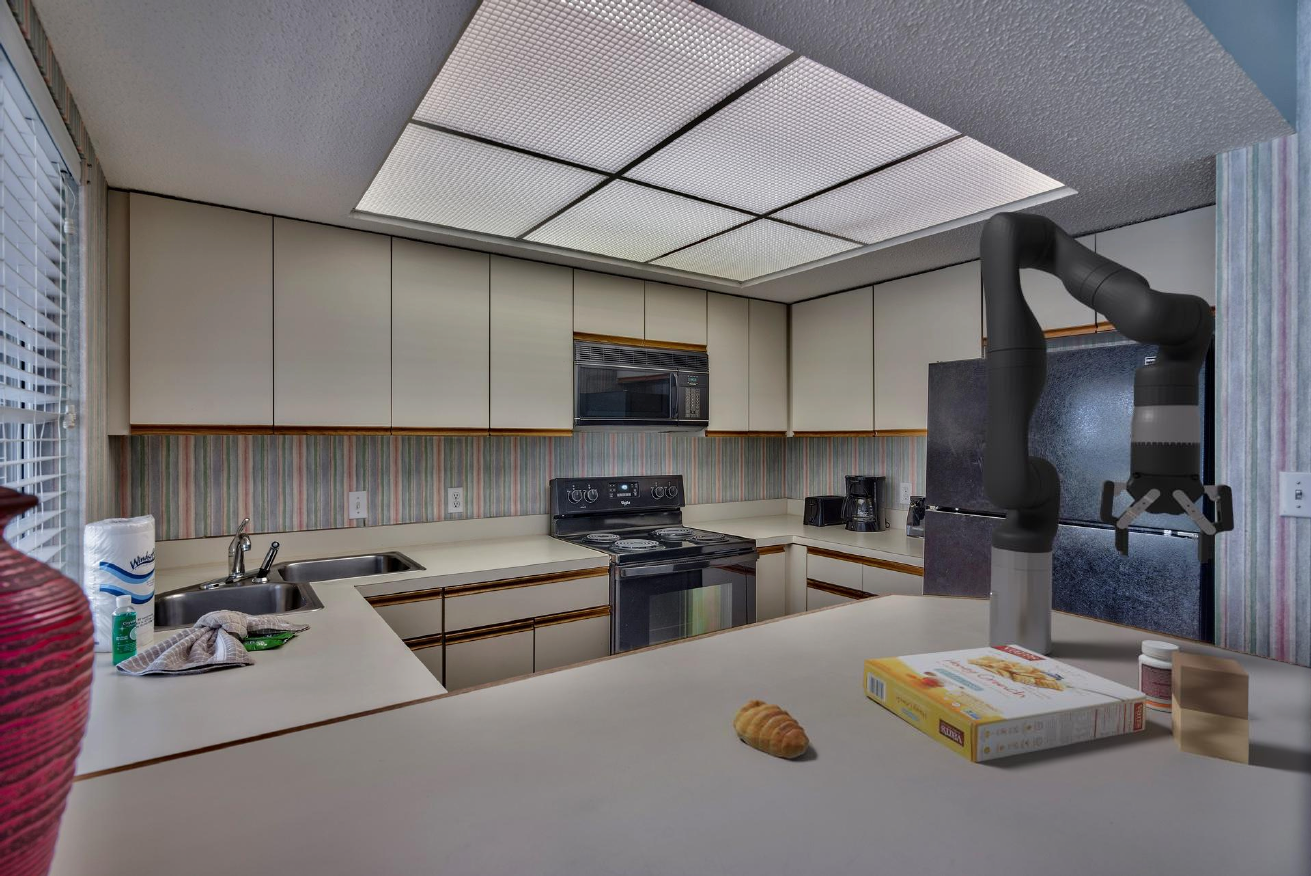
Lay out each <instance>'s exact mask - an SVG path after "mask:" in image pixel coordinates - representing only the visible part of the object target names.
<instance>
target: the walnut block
mask: <svg viewBox="0 0 1311 876" xmlns="http://www.w3.org/2000/svg"><path fill="white" fill-rule="evenodd" d="M1249 678H1250V677H1249V674H1247V672H1246V671H1245V670H1244V669H1243V667H1242V666H1241V665H1240V664H1239V662H1238V661H1237V660H1236V659H1228V658H1222V657H1216V656H1215V657H1214V656H1208V655H1200V654H1195V653H1194V654H1193V653H1188V652H1181V651H1179V652H1174V651H1172V689H1171V691H1172V693H1173V695H1174V697H1175V699H1176V701H1177V703H1178V705H1179V707H1180V708H1181V709H1187V710H1193V711H1198V712H1204V713H1210V714H1215V715H1221V716H1227V717H1232V718H1238V719H1244V720H1249V687H1250V686H1249V684H1250V683H1249V681H1250V679H1249Z"/></svg>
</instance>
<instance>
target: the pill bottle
mask: <svg viewBox="0 0 1311 876" xmlns="http://www.w3.org/2000/svg"><path fill="white" fill-rule="evenodd" d="M1172 651H1174V652H1180V647H1179V646H1178V645H1176V644H1173V643H1170V642H1165V641H1160V640H1150V639H1149V640H1148V639H1147V640H1143V641H1142V643H1141V652H1142V654H1140V655H1139V656H1138V658H1137V659H1138V661H1137V662H1138V667H1137V668H1138V670H1137V671H1138V673H1137V674H1138V678H1137V679H1138V680H1137V682H1138V683H1137V688H1138V690H1137V691H1140V692H1143V693H1145V694H1146V696H1147V703H1146V708H1149V709H1152V710H1156V711H1161V712H1167V713H1172V691H1171V689H1172Z"/></svg>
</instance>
